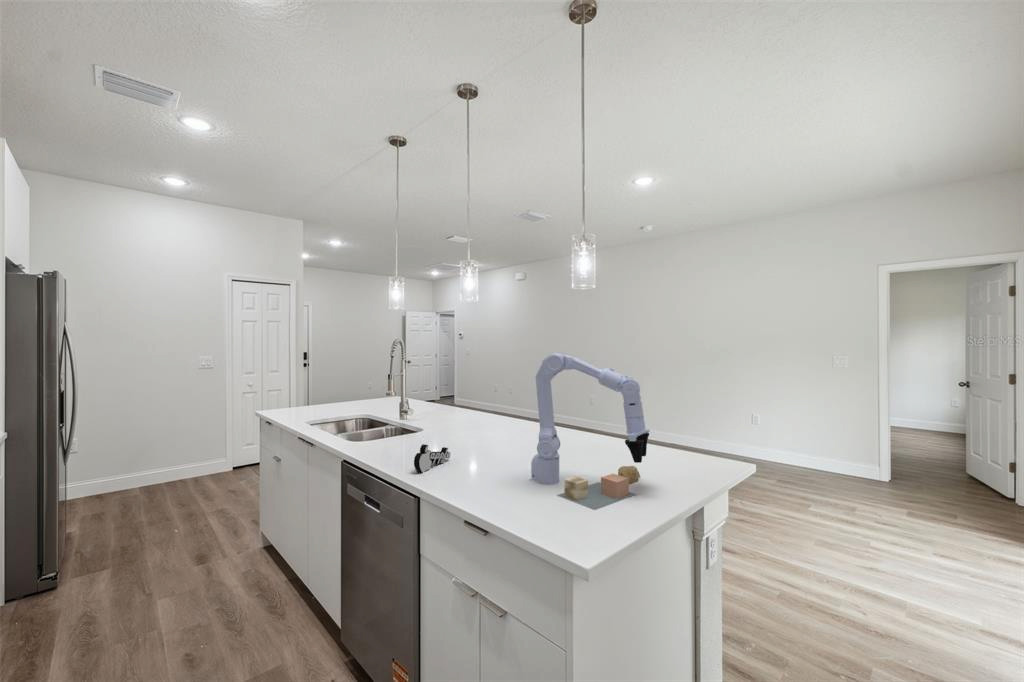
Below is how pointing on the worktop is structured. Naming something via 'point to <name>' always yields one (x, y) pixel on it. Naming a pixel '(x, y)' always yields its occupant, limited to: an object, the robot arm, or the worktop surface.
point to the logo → (429, 458)
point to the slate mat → (596, 498)
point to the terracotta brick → (615, 486)
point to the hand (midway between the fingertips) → (640, 459)
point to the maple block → (576, 488)
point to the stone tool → (629, 473)
